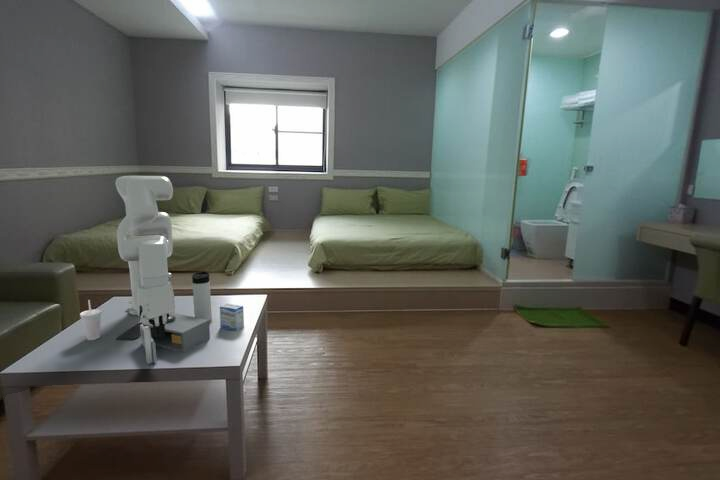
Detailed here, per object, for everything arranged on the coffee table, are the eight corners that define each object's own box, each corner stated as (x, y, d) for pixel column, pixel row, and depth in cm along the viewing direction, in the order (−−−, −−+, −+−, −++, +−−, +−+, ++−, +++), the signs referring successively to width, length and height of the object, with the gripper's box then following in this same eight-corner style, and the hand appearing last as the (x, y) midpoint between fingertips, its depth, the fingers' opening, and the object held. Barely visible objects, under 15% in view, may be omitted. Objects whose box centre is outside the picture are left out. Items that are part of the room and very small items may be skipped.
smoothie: (102, 332, 144) (97, 296, 141) (106, 338, 139) (102, 300, 137) (81, 337, 140) (76, 300, 137) (84, 343, 135) (80, 305, 132)
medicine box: (220, 328, 150) (218, 306, 148) (227, 323, 154) (226, 302, 152) (237, 331, 147) (236, 309, 146) (244, 326, 151) (243, 305, 150)
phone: (156, 322, 153) (135, 338, 138) (157, 324, 153) (135, 341, 138) (137, 322, 153) (114, 338, 138) (138, 324, 153) (114, 340, 138)
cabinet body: (144, 343, 136) (142, 321, 135) (172, 330, 147) (170, 309, 146) (184, 352, 130) (182, 329, 128) (210, 338, 141) (208, 317, 139)
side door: (135, 344, 134) (132, 312, 132) (144, 342, 136) (141, 310, 134) (147, 365, 121) (144, 329, 119) (157, 362, 123) (154, 327, 120)
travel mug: (215, 318, 158) (212, 271, 155) (207, 325, 152) (204, 275, 148) (200, 318, 159) (197, 270, 155) (191, 324, 153) (188, 275, 149)
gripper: (169, 273, 128) (173, 325, 132) (123, 284, 116) (129, 341, 119) (184, 276, 124) (187, 330, 128) (137, 289, 112) (143, 348, 115)
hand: (159, 335), depth 124 cm, fingers closed
